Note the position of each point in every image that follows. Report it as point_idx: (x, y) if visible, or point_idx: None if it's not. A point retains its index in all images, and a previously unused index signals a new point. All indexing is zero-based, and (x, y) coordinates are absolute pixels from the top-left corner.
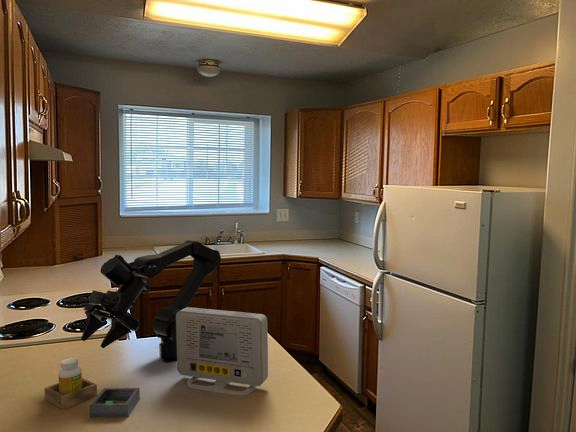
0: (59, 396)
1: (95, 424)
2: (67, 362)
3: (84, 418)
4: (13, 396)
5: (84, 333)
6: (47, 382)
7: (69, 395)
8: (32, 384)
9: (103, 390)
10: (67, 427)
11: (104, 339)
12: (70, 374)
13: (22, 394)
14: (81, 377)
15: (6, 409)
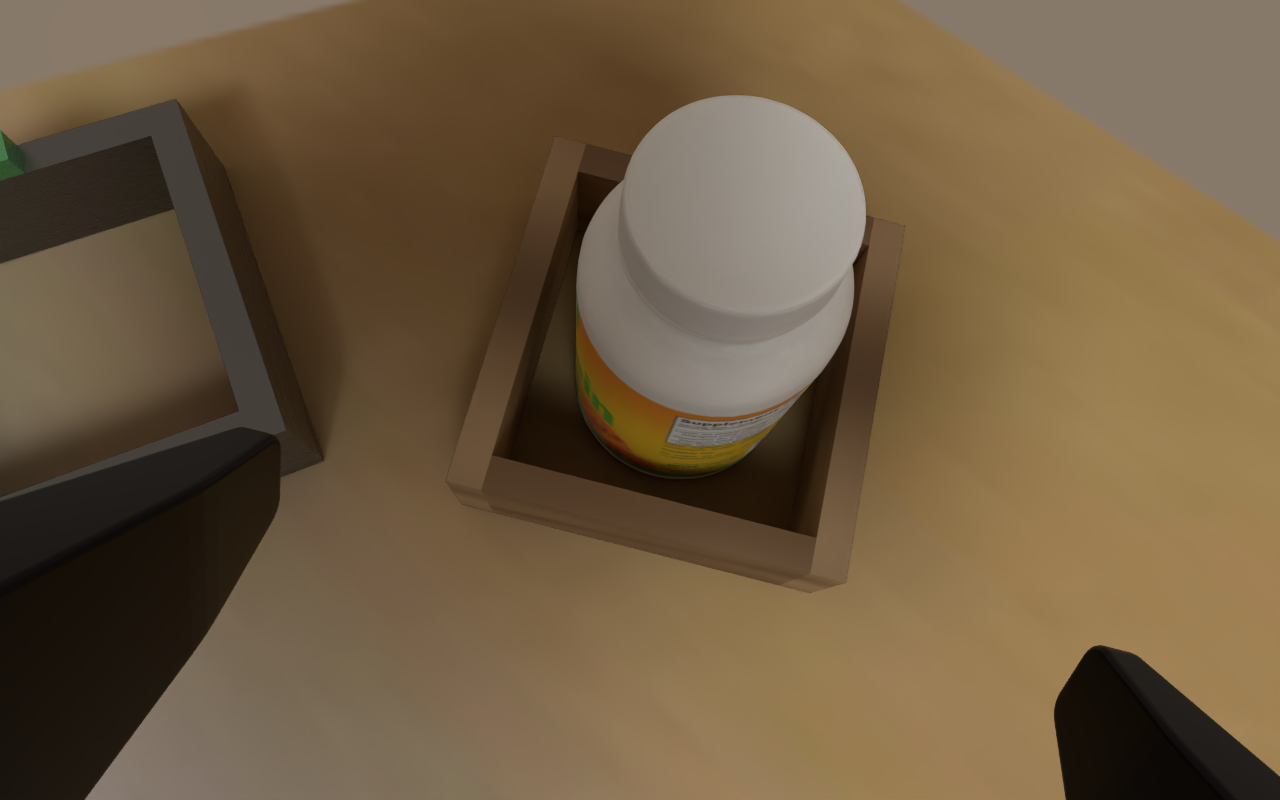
0: (613, 154)
1: (103, 104)
2: (725, 148)
3: (263, 145)
4: (1164, 233)
5: (1189, 747)
6: (1190, 553)
7: (537, 198)
8: (1270, 464)
9: (252, 383)
10: (298, 14)
11: (130, 493)
12: (615, 188)
13: (1136, 283)
14: (595, 374)
15: (985, 68)
